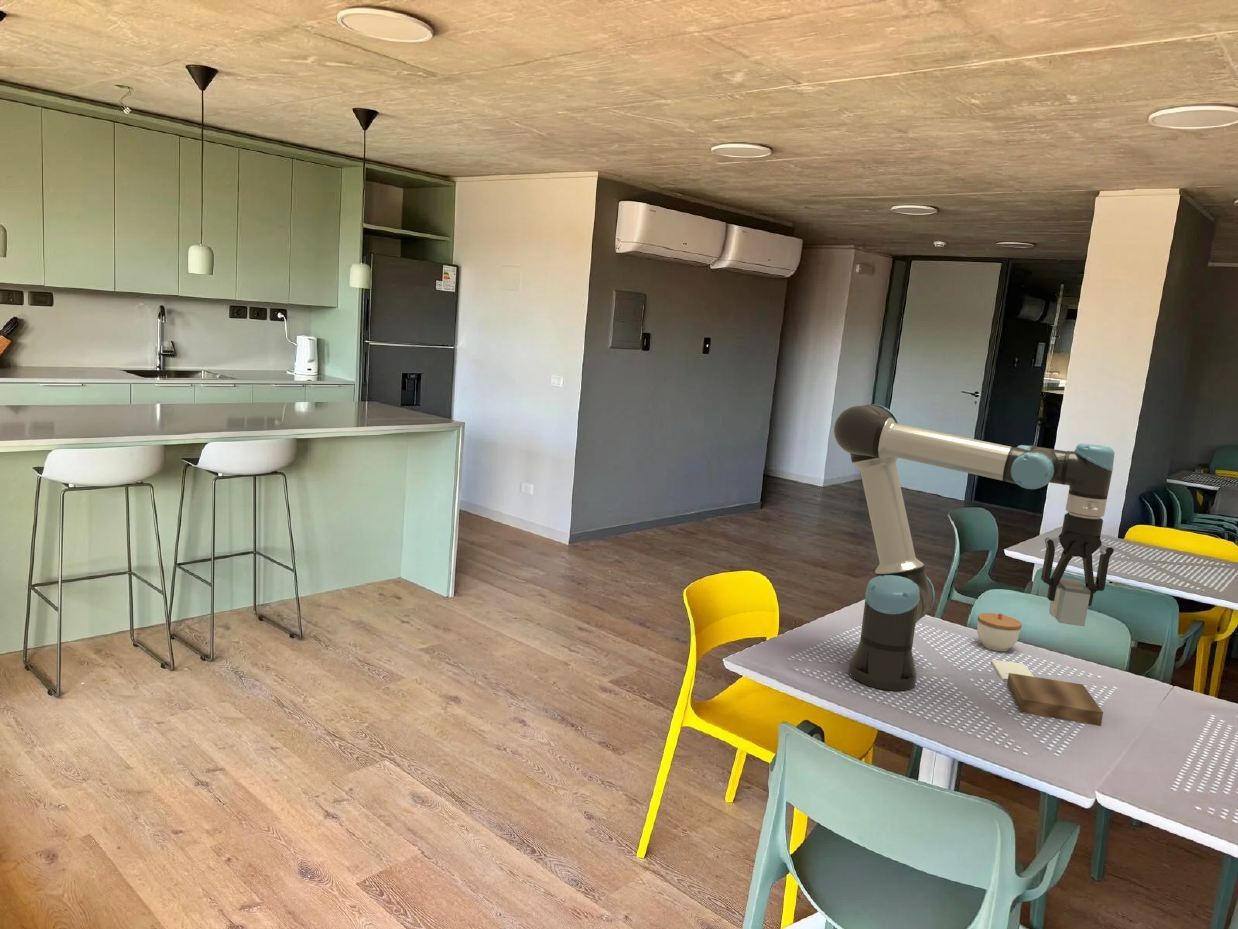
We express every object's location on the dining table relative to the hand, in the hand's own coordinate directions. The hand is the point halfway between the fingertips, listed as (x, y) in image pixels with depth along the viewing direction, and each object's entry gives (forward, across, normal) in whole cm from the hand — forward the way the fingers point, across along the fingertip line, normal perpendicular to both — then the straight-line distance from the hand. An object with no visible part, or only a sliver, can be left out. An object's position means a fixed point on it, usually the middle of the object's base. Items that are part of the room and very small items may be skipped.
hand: (1066, 616), depth 190 cm
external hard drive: (+21, -5, +15) cm, 27 cm away
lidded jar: (+21, -6, +35) cm, 41 cm away
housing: (0, 0, 0) cm, 0 cm away
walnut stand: (+20, 0, -1) cm, 20 cm away
